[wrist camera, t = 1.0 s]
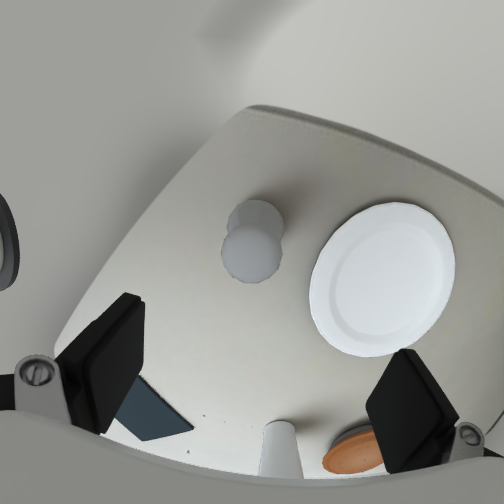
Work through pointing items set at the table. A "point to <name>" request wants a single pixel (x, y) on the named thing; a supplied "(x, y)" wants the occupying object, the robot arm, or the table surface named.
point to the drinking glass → (280, 452)
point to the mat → (149, 414)
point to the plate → (382, 279)
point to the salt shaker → (253, 242)
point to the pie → (353, 452)
